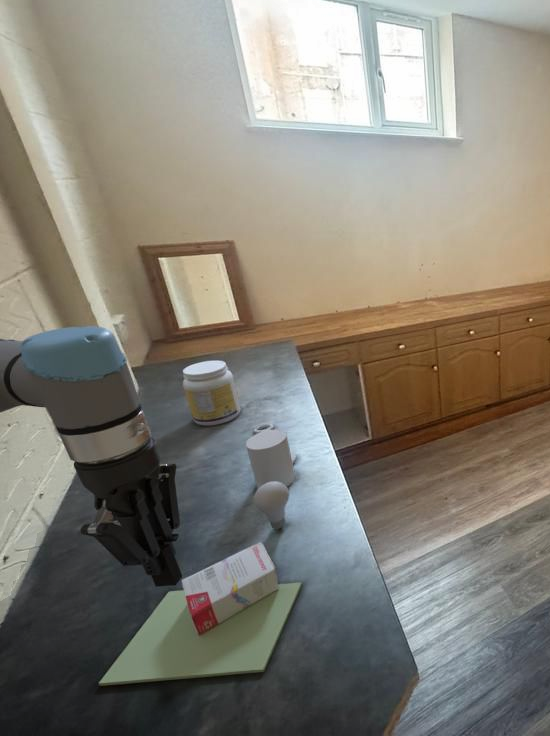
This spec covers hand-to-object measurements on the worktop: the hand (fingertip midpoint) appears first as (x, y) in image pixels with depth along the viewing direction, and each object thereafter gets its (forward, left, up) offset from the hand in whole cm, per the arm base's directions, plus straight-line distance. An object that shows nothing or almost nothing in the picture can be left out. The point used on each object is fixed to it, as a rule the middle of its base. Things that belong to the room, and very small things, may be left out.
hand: (169, 581), depth 59 cm
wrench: (-10, +51, -11) cm, 53 cm away
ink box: (-1, +2, -8) cm, 8 cm away
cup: (-3, +36, -11) cm, 38 cm away
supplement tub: (-34, +68, -11) cm, 77 cm away
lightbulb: (+4, +21, -11) cm, 24 cm away
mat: (+3, 0, -11) cm, 12 cm away
